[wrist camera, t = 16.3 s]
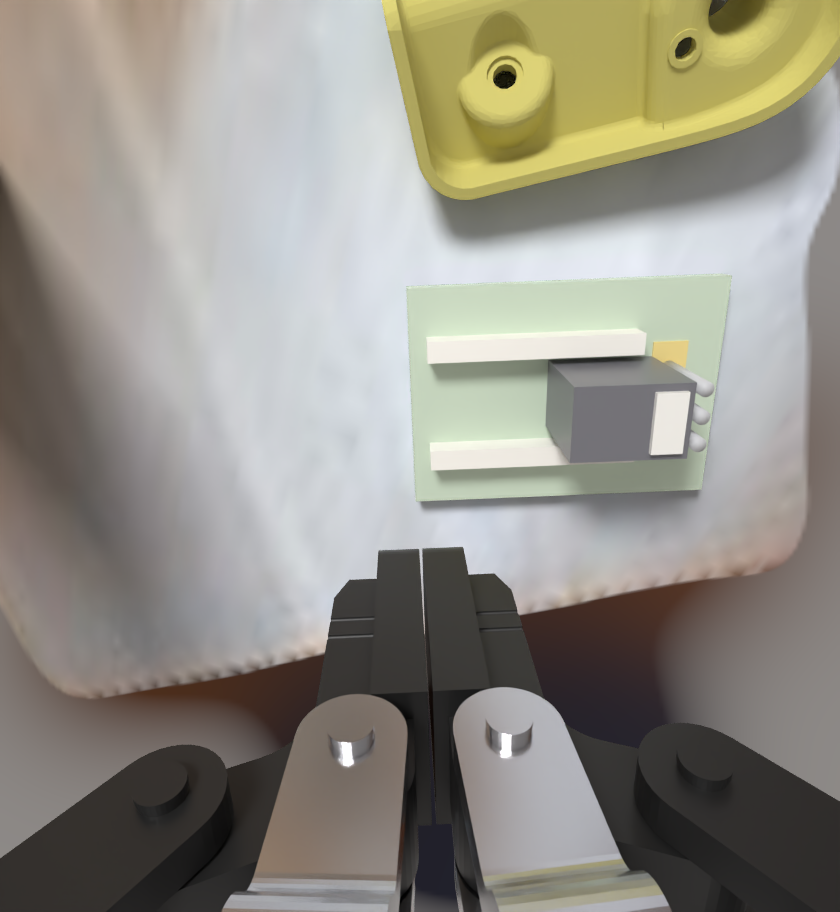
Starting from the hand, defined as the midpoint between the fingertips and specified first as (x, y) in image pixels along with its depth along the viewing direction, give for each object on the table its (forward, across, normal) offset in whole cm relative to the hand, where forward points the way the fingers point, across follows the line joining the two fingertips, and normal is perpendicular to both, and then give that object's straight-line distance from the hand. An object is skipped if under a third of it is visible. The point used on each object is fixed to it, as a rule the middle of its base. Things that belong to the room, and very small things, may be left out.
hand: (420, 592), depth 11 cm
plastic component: (+27, -10, -14) cm, 32 cm away
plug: (+25, -11, +4) cm, 28 cm away
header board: (+27, -9, +4) cm, 29 cm away
